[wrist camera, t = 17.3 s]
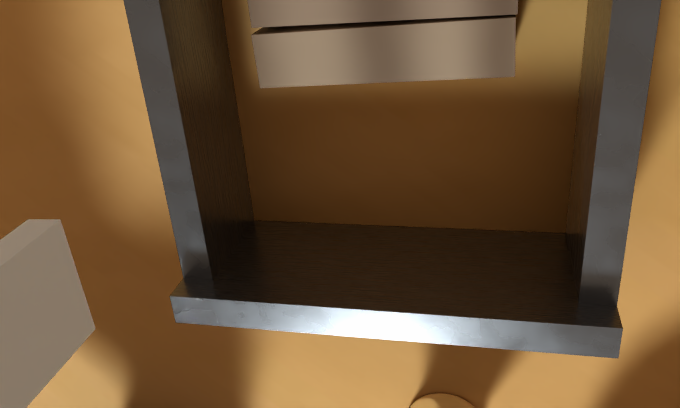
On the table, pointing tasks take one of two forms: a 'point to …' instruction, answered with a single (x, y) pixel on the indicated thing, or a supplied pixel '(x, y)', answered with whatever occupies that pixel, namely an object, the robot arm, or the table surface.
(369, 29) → the offcut slab
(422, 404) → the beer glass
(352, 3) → the offcut slab
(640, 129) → the tray
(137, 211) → the table surface
